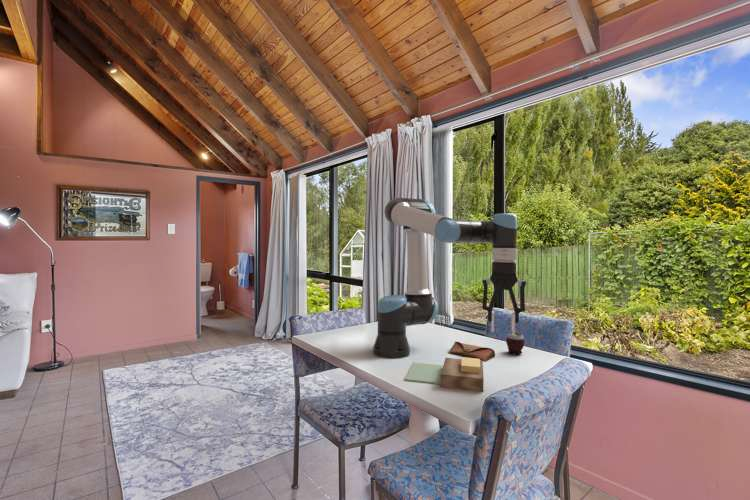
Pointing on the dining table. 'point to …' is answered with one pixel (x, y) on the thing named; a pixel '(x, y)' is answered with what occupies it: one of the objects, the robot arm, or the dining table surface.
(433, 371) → the mat
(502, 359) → the dining table surface
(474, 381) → the brown piece
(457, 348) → the sunglasses case
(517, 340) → the mate gourd
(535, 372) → the dining table surface
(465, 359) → the yellow rectangular block
